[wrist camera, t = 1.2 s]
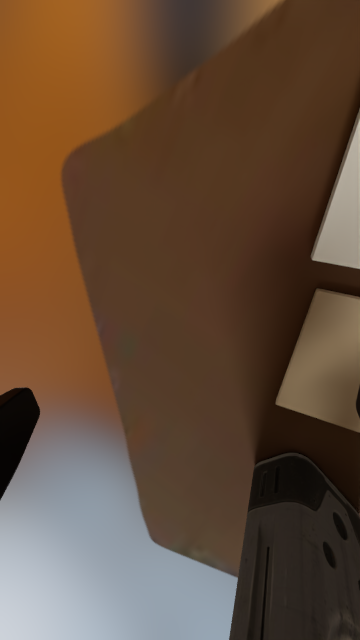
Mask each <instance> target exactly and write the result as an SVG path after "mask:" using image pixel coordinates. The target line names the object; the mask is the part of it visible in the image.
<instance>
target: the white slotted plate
mask: <svg viewBox="0 0 360 640" xmlns="http://www.w3.org/2000/svg"><path fill="white" fill-rule="evenodd" d="M311 258H312V260H314V261H320V262H325V263H331V264H336V265H342V266H347V267H352V268H358V269H360V109H359V112H358V115H357V118H356V121H355V124H354V127H353V130H352V133H351V136H350V139H349V142H348V145H347V148H346V151H345V154H344V157H343V160H342V163H341V166H340V169H339V172H338V175H337V178H336V181H335V184H334V187H333V190H332V193H331V196H330V199H329V202H328V205H327V208H326V211H325V214H324V217H323V220H322V223H321V226H320V229H319V232H318V235H317V238H316V241H315V244H314V247H313V250H312V253H311Z"/></svg>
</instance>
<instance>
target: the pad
mask: <svg viewBox="0 0 360 640" xmlns="http://www.w3.org/2000/svg"><path fill="white" fill-rule="evenodd" d="M359 385H360V297H357V296H352V295H348V294H343V293H338V292H333V291H329V290H324V289H319V288H316V291H315V293H314V296H313V299H312V302H311V305H310V307H309V310H308V313H307V316H306V318H305V321H304V324H303V327H302V329H301V332H300V335H299V338H298V340H297V343H296V346H295V349H294V351H293V354H292V357H291V360H290V362H289V365H288V368H287V371H286V374H285V376H284V379H283V382H282V385H281V387H280V390H279V393H278V396H277V398H276V405H279V406H282V407H285V408H288V409H291V410H294V411H297V412H300V413H303V414H306V415H309V416H312V417H315V418H318V419H321V420H324V421H327V422H330V423H333V424H335V425H338V426H341V427H344V428H347V429H350V430H353V431H356V432H359V433H360V418H359V416H358V413H357V410H356V399H357V395H358V390H359Z"/></svg>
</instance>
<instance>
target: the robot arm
mask: <svg viewBox="0 0 360 640" xmlns="http://www.w3.org/2000/svg"><path fill="white" fill-rule="evenodd" d="M356 410H357V413H358V416H359V418H360V385H359V390H358V395H357V399H356ZM39 415H40V409H39V406H38V404H37V401H36V399H35V397H34V395H33V392H32V390H30V389H29V388H14V389H12V390H10V391H8V392H6V393H4V394H2V395H0V500H1V498H2V496H3V494H4V492H5V490H6V489H7V486H8V485H9V483H10V481H11V479H12V477H13V475H14V473H15V471H16V469H17V467H18V465H19V463H20V461H21V458H22V456H23V454H24V451H25V449H26V446H27V444H28V442H29V440H30V437H31V435H32V433H33V430H34V428H35V425H36V423H37V421H38V419H39Z"/></svg>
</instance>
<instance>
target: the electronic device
mask: <svg viewBox="0 0 360 640" xmlns="http://www.w3.org/2000/svg"><path fill="white" fill-rule="evenodd" d="M229 640H360V517H359V514H358V513H357V511H356V510H355V509H354V508H353V506H352V505H351V504H350V503H349V502H348V501H347V500H346V499H345V497H344V496H343V495H342V494H341V493H340V492H339V491H338V490H337V488H336V487H335V486H334V485H333V484H332V483H331V482H330V481H329V479H328V478H327V477H326V476H325V475H324V474H323V473H322V472H321V470H320V469H319V468H318V467H317V466H316V465H315V464H314V463H313V462H312V461H311V460H310V459H309V458H307V457H305V456H303V455H301V454H298V453H286V454H282V455H279V456H276V457H273V458H270V459H267V460H264V461H261V462H259V463H257V464H256V465H255V467H254V473H253V479H252V486H251V493H250V500H249V506H248V513H247V521H246V527H245V534H244V541H243V548H242V555H241V562H240V569H239V576H238V582H237V590H236V596H235V603H234V611H233V617H232V624H231V631H230V638H229Z"/></svg>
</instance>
